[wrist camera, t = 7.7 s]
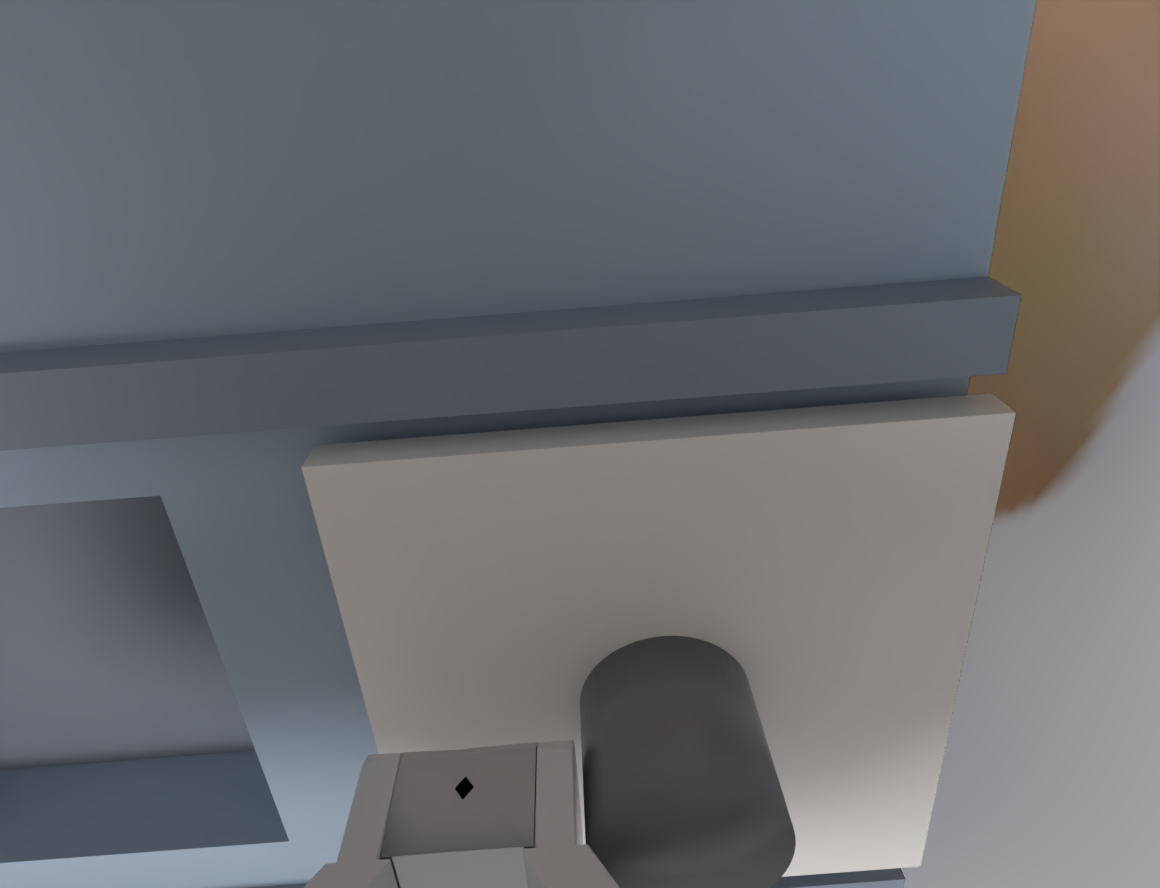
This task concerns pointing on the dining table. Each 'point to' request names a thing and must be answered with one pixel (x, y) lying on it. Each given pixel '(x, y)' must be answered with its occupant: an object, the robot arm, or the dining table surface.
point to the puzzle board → (411, 333)
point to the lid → (682, 618)
